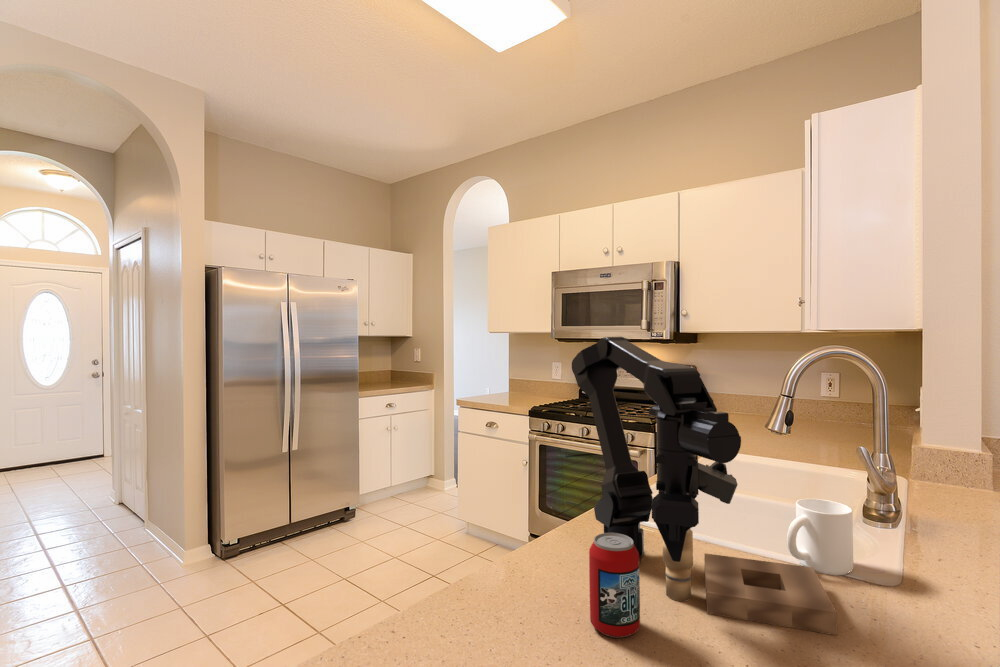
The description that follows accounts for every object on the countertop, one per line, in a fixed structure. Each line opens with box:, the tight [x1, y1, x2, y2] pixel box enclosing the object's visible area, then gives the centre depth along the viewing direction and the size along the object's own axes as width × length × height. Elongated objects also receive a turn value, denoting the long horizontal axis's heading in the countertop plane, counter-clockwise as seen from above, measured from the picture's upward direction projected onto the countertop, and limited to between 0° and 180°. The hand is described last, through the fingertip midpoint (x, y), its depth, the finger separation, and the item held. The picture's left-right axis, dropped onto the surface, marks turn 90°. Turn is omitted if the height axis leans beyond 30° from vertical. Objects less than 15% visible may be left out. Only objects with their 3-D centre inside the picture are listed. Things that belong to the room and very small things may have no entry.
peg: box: [662, 528, 694, 602], centre depth 78 cm, size 4×4×10 cm
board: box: [703, 553, 838, 636], centre depth 76 cm, size 16×14×3 cm
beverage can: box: [588, 532, 641, 639], centre depth 69 cm, size 7×7×12 cm
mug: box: [786, 498, 854, 576], centre depth 87 cm, size 12×8×10 cm
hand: (677, 548), depth 78 cm, fingers open, 9 cm apart
